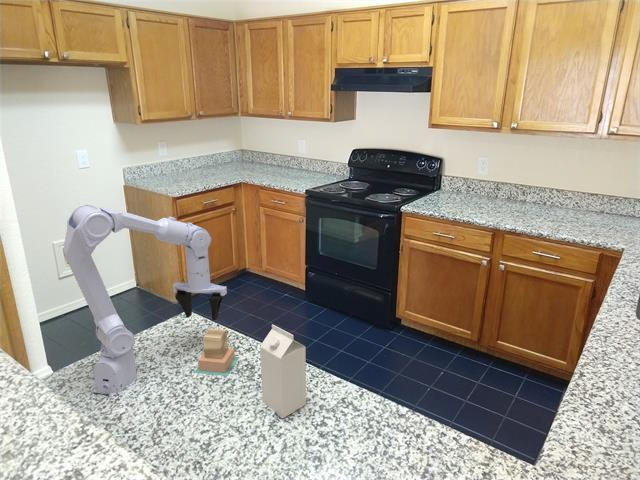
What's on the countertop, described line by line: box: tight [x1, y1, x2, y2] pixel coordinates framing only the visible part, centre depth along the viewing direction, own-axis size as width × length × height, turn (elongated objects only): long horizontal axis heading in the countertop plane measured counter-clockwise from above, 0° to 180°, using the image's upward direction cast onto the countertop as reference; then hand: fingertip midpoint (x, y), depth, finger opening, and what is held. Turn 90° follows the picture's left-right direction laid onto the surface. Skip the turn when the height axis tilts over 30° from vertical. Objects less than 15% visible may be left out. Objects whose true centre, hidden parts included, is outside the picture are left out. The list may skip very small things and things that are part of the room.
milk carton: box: [259, 324, 307, 419], centre depth 100 cm, size 7×7×19 cm
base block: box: [197, 347, 236, 373], centre depth 117 cm, size 7×7×3 cm
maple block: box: [202, 328, 229, 359], centre depth 116 cm, size 4×4×6 cm
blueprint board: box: [193, 356, 240, 377], centre depth 118 cm, size 14×12×1 cm
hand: (202, 317), depth 123 cm, fingers open, 7 cm apart
